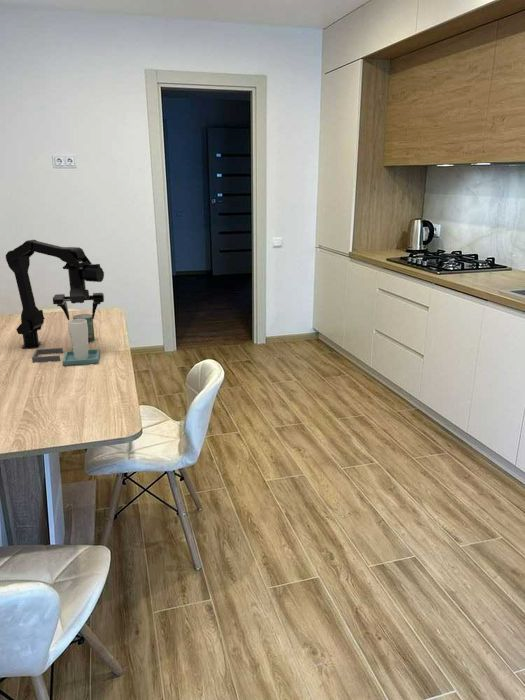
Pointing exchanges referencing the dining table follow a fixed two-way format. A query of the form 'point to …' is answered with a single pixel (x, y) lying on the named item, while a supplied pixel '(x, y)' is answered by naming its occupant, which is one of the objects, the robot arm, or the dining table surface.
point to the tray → (92, 359)
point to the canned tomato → (90, 325)
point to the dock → (46, 358)
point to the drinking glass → (79, 338)
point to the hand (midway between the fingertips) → (81, 319)
